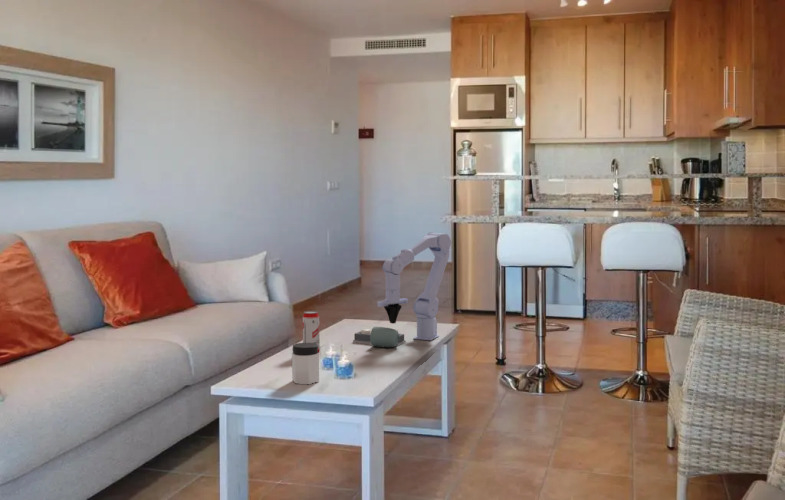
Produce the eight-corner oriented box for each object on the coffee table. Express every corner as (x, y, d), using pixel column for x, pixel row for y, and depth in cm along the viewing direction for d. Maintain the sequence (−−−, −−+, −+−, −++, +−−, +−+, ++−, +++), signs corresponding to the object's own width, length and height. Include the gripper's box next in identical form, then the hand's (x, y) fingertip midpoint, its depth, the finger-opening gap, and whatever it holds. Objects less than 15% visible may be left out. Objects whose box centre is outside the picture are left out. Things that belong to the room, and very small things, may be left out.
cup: (394, 329, 302) (370, 327, 305) (393, 349, 302) (369, 347, 305) (401, 327, 309) (378, 325, 313) (400, 347, 309) (377, 345, 313)
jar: (306, 376, 261) (306, 341, 260) (324, 380, 256) (323, 344, 255) (286, 382, 254) (286, 345, 253) (304, 386, 249) (303, 349, 248)
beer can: (322, 352, 298) (322, 311, 296) (315, 356, 292) (315, 313, 290) (307, 351, 300) (306, 310, 298) (300, 355, 294) (299, 312, 292)
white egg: (363, 336, 322) (363, 328, 322) (372, 336, 320) (372, 329, 320) (359, 337, 318) (359, 330, 318) (368, 338, 317) (368, 331, 316)
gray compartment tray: (362, 338, 325) (362, 330, 325) (405, 342, 317) (405, 334, 316) (352, 342, 317) (352, 333, 317) (397, 346, 309) (397, 337, 309)
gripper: (399, 286, 320) (399, 319, 321) (372, 289, 311) (372, 323, 312) (411, 288, 315) (411, 321, 316) (383, 291, 306) (383, 326, 307)
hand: (392, 323), depth 314 cm, fingers closed
